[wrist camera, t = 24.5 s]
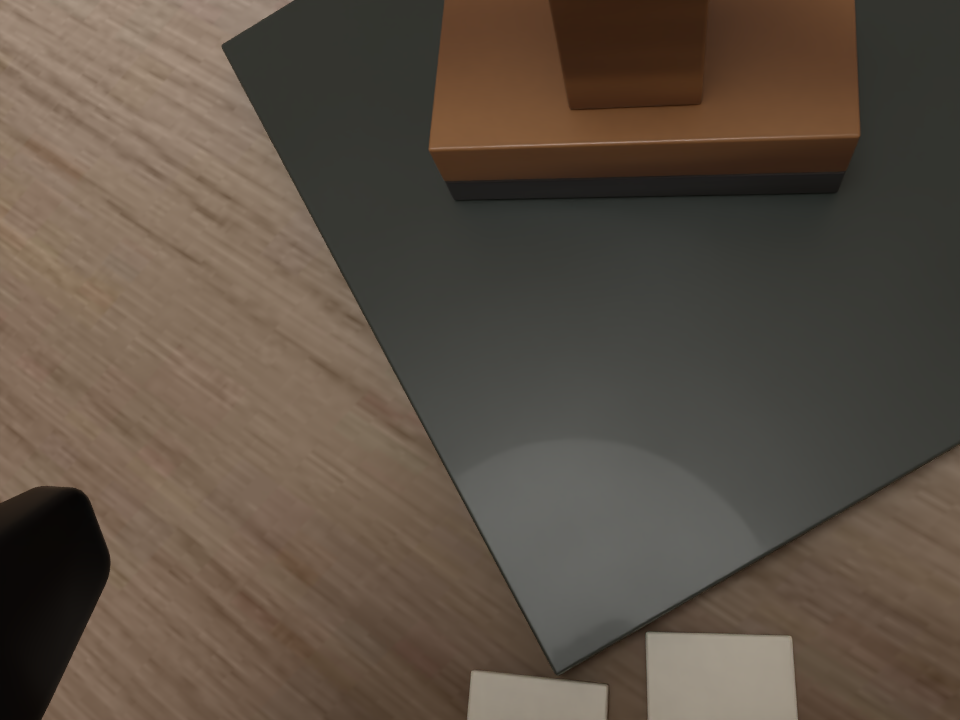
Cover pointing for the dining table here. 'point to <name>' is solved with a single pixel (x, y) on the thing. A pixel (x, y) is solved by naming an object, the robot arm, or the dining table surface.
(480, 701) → the chalk mark
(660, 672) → the chalk mark
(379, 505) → the dining table surface
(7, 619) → the robot arm
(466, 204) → the slate board
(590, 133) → the eraser
